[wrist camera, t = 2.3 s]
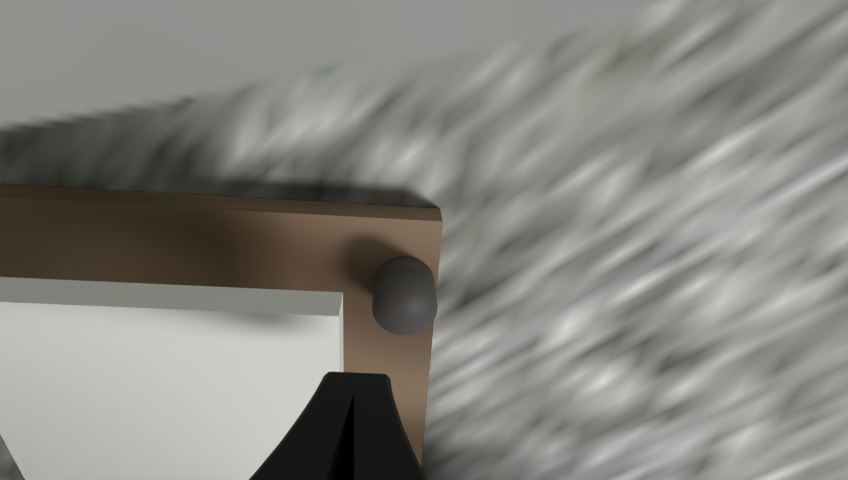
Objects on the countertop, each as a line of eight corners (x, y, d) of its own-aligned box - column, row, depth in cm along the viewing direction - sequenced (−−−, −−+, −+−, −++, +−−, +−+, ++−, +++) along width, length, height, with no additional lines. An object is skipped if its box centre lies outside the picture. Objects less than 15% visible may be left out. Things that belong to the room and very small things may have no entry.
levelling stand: (410, 544, 26) (412, 631, 22) (84, 540, 25) (27, 629, 21) (439, 208, 20) (448, 250, 16) (-2, 183, 19) (-106, 221, 15)
